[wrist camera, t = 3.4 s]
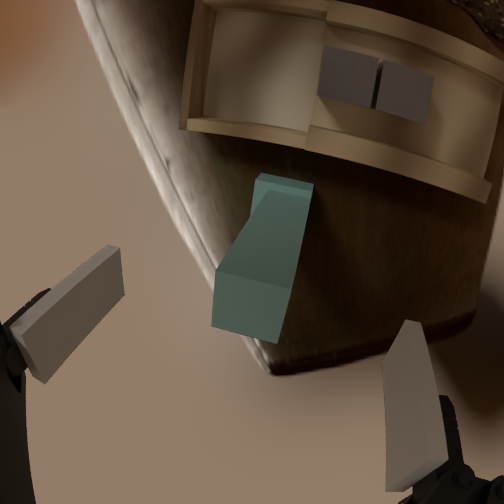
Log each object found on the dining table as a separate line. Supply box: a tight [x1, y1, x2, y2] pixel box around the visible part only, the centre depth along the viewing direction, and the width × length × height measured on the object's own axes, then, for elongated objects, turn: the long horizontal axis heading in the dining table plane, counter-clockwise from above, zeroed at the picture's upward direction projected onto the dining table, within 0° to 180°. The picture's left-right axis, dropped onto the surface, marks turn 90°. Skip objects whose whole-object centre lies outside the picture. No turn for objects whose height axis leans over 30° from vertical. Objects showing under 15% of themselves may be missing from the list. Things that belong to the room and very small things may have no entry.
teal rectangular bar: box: [211, 173, 314, 344], centre depth 18 cm, size 4×4×13 cm
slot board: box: [179, 0, 504, 204], centre depth 17 cm, size 22×10×4 cm, turn 83°
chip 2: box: [370, 60, 434, 125], centre depth 15 cm, size 3×3×3 cm
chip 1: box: [317, 46, 379, 108], centre depth 16 cm, size 3×3×3 cm
